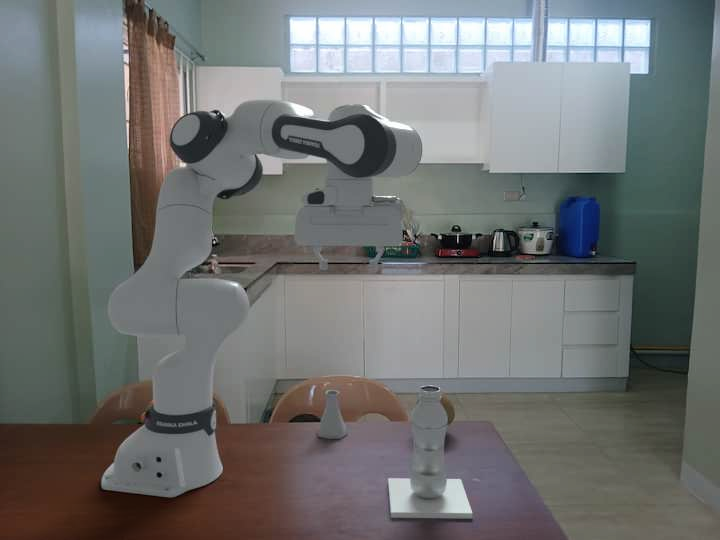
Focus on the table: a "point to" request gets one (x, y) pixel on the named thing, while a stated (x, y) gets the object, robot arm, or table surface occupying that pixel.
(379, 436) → the table surface
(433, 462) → the plastic bottle
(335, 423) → the flask
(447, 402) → the natural sponge
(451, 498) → the bottle pad
